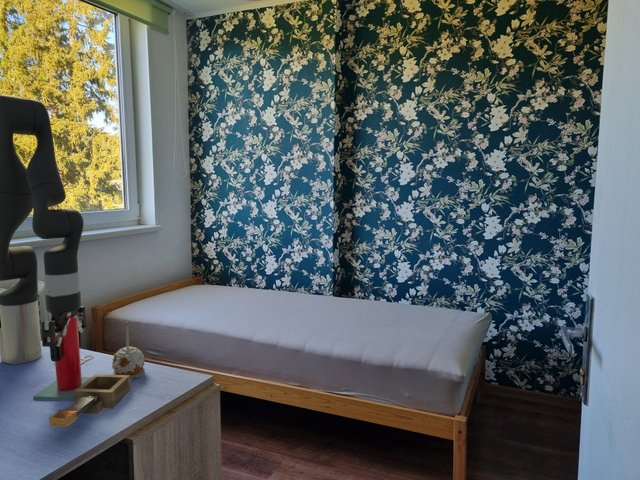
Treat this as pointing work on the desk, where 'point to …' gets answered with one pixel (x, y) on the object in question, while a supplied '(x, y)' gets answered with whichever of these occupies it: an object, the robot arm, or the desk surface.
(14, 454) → the desk surface
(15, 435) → the desk surface
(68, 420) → the lever
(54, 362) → the scissors
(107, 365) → the desk surface
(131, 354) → the caramel apple
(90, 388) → the holder
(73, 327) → the bottle
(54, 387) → the coaster
